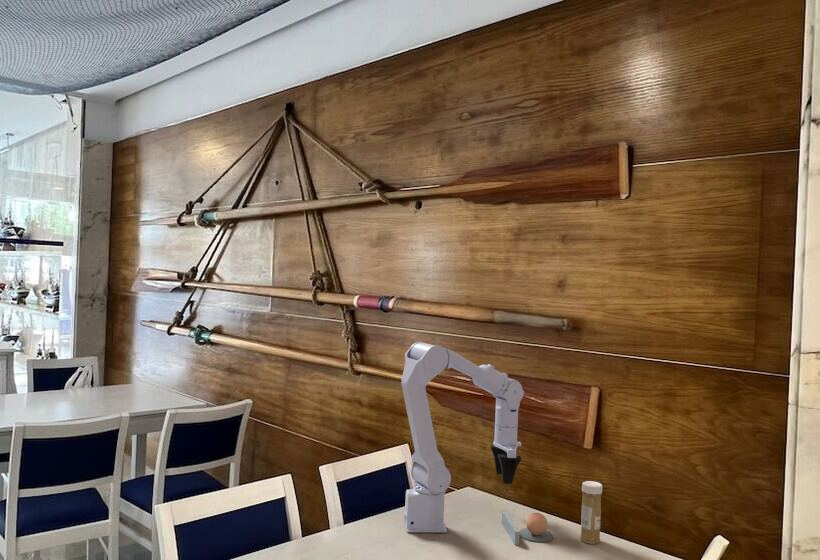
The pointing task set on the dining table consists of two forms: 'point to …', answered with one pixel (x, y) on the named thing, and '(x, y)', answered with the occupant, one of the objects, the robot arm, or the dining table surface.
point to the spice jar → (591, 512)
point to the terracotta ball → (536, 523)
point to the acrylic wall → (510, 528)
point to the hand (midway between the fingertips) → (504, 478)
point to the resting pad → (535, 536)
